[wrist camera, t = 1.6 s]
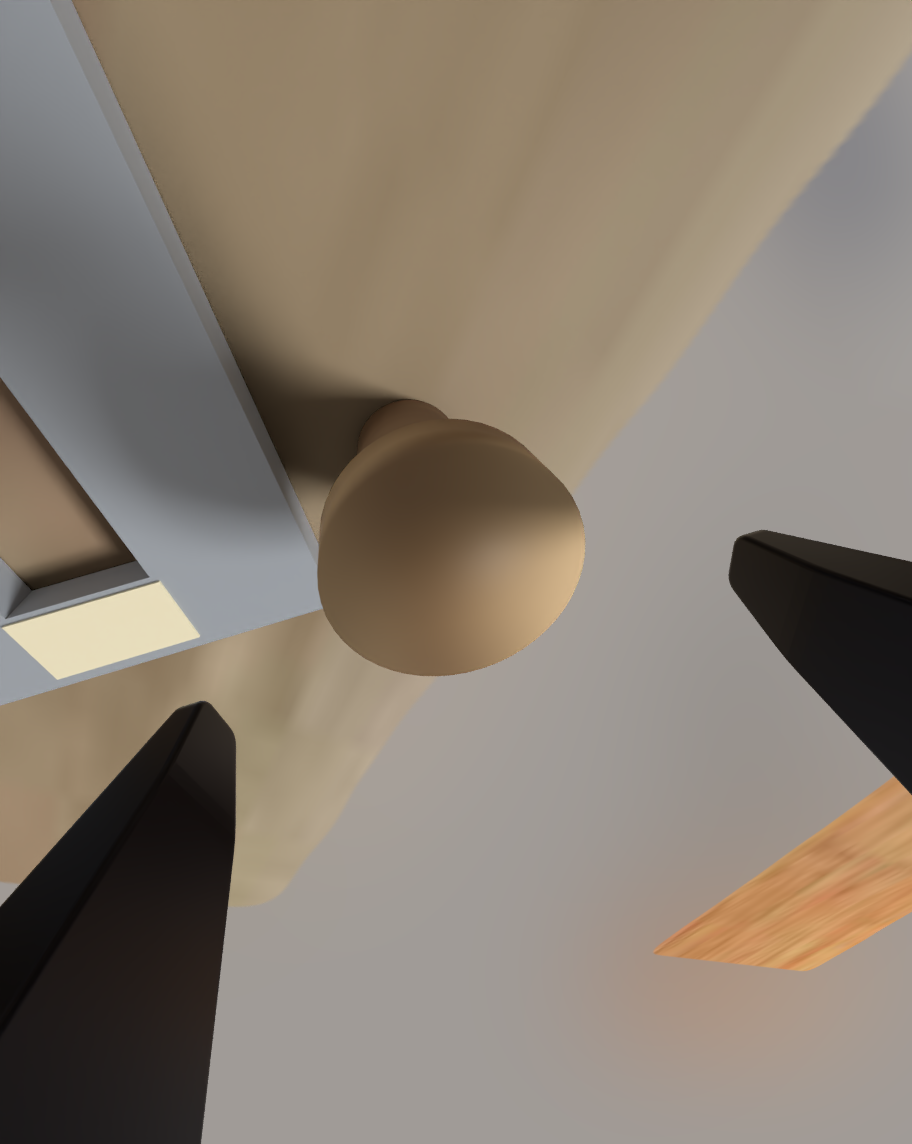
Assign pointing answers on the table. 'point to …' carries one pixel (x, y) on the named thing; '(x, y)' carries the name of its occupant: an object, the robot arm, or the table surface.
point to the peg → (445, 544)
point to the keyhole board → (125, 386)
